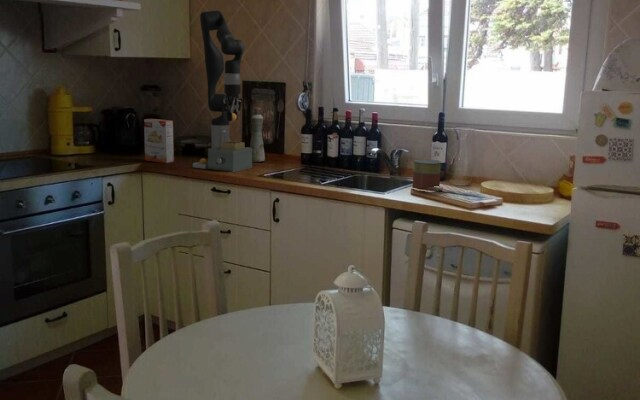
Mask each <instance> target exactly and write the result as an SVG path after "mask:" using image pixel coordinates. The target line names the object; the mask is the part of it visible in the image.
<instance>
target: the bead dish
mask: <svg viewBox="0 0 640 400" xmlns="http://www.w3.org/2000/svg"><path fill="white" fill-rule="evenodd" d="M192 168H194V169H197V168H198V169H203V170H206V169H208V164H199V161H198V162H193V163H192Z"/></svg>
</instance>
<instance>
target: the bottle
mask: <svg viewBox="0 0 640 400" xmlns="http://www.w3.org/2000/svg"><path fill="white" fill-rule="evenodd" d="M253 110H254V111H253V113H254V114H253V115H252V116H251V117H250V119H251V127H252V132H251V136H250V137H251V138H250V142H249V144H250V145H249V148H252V163H260V162H265V160H266V157H265V156H266V155H265V148H264V141H263V134H262V131H263V130H262V128H263V121H264V116H263V115H261V113H262V108H261V107H259V106H257V107H254V108H253Z"/></svg>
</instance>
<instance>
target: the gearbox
mask: <svg viewBox="0 0 640 400" xmlns="http://www.w3.org/2000/svg"><path fill="white" fill-rule="evenodd" d="M207 162H208V168H207V170H208V169H209V170H215V171H224V172H230V173H232V174H235V173H238V172H244V171H243V170H245V171H247V170H252V169H253V162H252V148H250V146H249V147H247V146H246V147H245V142H241V141H232V140H230V141H228V142H222V143H221V147H216V148H212V147H211V148H210V147H209V148H207Z"/></svg>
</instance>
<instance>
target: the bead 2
mask: <svg viewBox="0 0 640 400" xmlns="http://www.w3.org/2000/svg"><path fill="white" fill-rule="evenodd" d="M236 118H237V117H236V115H235V114H234V113H233V112H232V121H231V122H232V123H233V122H235V121H237V120H236ZM237 119H238V118H237Z"/></svg>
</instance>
